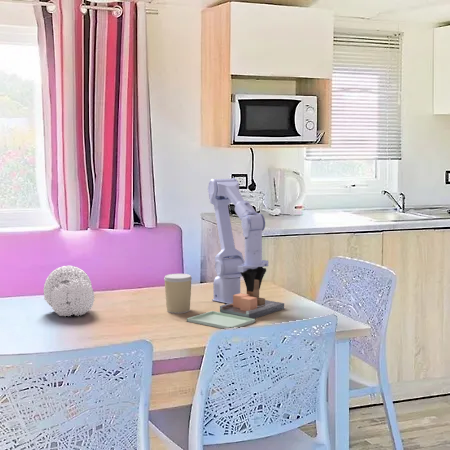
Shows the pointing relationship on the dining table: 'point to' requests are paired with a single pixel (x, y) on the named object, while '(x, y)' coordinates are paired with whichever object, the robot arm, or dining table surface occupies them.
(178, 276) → the coffee cup
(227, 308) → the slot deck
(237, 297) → the block
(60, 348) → the dining table surface
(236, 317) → the tray
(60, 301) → the cauliflower
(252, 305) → the block
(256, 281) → the tan stepped block
